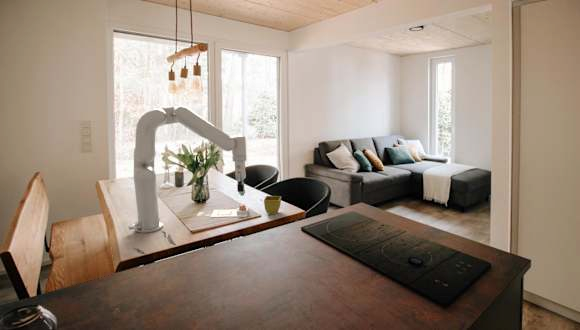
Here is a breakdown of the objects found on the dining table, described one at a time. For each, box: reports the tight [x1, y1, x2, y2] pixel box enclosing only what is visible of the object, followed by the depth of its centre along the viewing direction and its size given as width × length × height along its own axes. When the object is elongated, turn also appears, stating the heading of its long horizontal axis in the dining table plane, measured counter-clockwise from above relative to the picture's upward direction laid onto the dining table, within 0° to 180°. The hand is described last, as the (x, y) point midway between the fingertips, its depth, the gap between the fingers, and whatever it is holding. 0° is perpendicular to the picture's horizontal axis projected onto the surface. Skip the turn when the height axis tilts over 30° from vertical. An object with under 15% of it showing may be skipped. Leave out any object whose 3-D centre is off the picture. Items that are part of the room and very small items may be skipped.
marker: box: [238, 178, 246, 196], centre depth 175 cm, size 4×4×11 cm
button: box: [238, 204, 246, 210], centre depth 177 cm, size 3×3×3 cm
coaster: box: [196, 211, 212, 217], centre depth 177 cm, size 7×7×1 cm
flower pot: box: [263, 195, 282, 215], centre depth 178 cm, size 9×9×9 cm
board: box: [209, 206, 249, 218], centre depth 177 cm, size 20×12×3 cm, turn 93°
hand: (240, 190), depth 176 cm, fingers closed on marker, 3 cm apart
